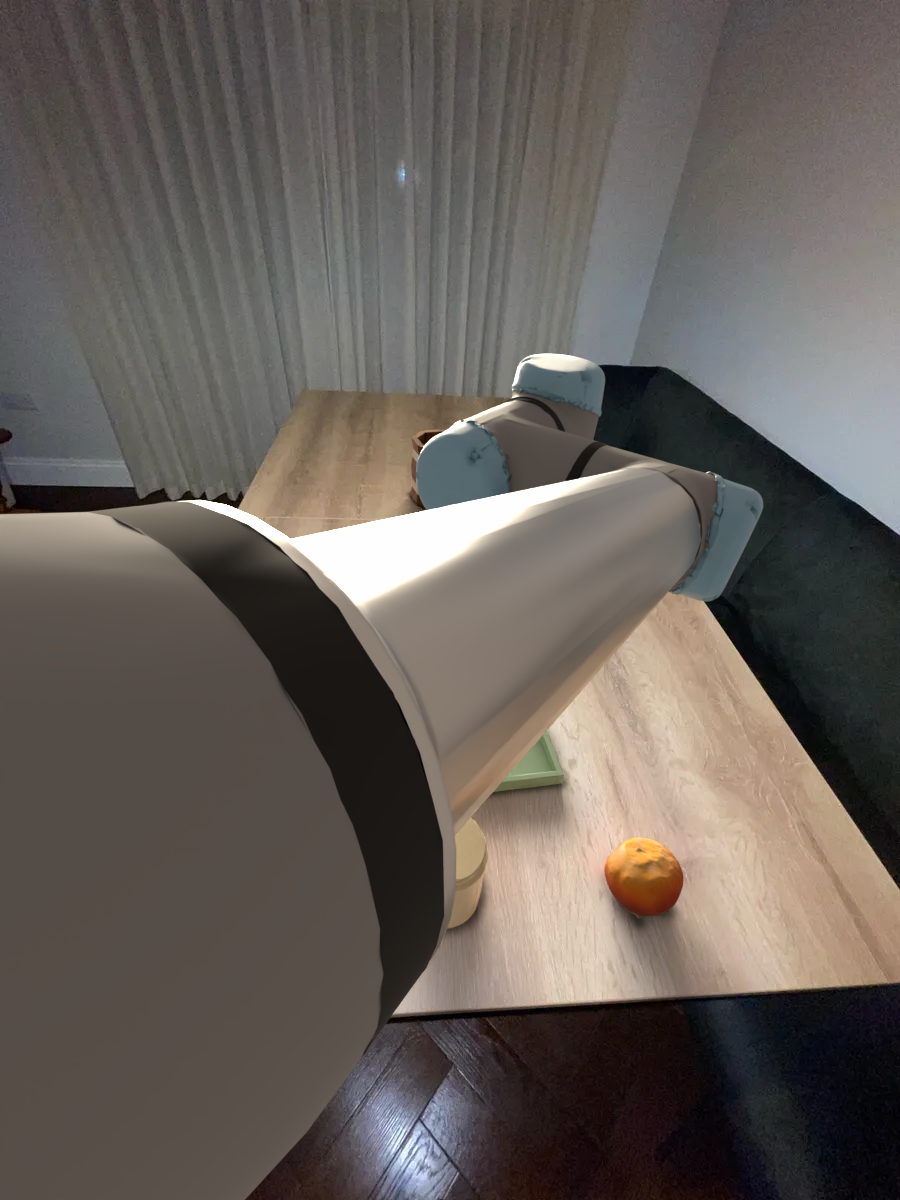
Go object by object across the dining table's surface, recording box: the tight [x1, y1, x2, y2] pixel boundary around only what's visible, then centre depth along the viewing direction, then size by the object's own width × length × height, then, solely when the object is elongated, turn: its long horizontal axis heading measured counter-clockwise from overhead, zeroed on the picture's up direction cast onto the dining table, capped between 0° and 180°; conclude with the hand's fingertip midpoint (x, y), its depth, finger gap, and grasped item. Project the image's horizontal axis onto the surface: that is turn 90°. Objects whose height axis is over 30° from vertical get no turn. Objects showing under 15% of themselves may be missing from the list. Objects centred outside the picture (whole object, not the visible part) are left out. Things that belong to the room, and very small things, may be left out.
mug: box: [410, 428, 447, 507], centre depth 128 cm, size 20×14×15 cm
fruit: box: [603, 836, 684, 921], centre depth 59 cm, size 8×8×8 cm
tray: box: [493, 730, 564, 793], centre depth 75 cm, size 16×14×2 cm
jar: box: [447, 817, 489, 929], centre depth 57 cm, size 8×8×10 cm
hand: (506, 680), depth 67 cm, fingers closed on lid, 9 cm apart
